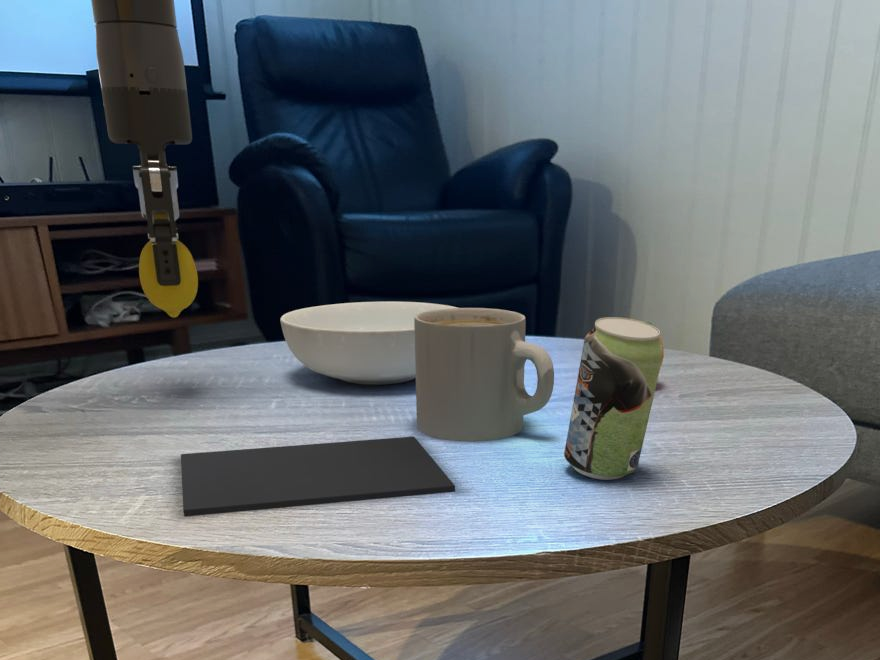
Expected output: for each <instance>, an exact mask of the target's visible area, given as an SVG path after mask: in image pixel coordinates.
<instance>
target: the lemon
mask: <svg viewBox="0 0 880 660" xmlns="http://www.w3.org/2000/svg"><path fill="white" fill-rule="evenodd" d="M152 244H156V243H151V241H150V240H149V241H147V243H146V244H145V245H144V247H143V248H142V250H141V252H140V255H139V262H138V275H139V280H140V285H141V289H142V290H143V293H144V295H145V297H146V298H147V299H148V300H149V302H150V303H151V304H152V305H153V306H155V307H156V308H158V309H160V310H162V311H164V312H165V313H166V314H167V315H168V316H169V317H171V318H178V316H179V315H180V314H181V312H182V311H184V309H187V308H189V306H191V304H193V302H194V300H195V299H196V296H197V293H198V288H199V277H198V271H197V266H196V263H195V260H194V258H193V255H192V253H191V251H190V250H189V248H188V247H187V246H186V245H185V244H184V243H183V242H181V241H180V240H179V239H177V243H172V244H176V245H177V253H178V261H179V269H180V277H181V283H180V284H179V285H177V286H161V285H159V284H158V282H157V276H156V269H155V261H154V254H153V246H152Z"/></svg>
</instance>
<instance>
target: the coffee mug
mask: <svg viewBox="0 0 880 660" xmlns="http://www.w3.org/2000/svg"><path fill="white" fill-rule="evenodd" d="M526 319H527V318H526V316H525V315H524V314H522V313H520V312H517V311H511V310H508V309H507V310H506V309H499V308H487V307H457V308H448V309H438V310H430V311H425V312H421V313H419V314H417V315H416V316H415V317H414V330H415V369H416V378H415V396H416V397H415V405H416V429H417V431H418V432H419V433H421V434H423V435H425V436H428V437H431V438H435V439H438V440H444V441H452V442H487V441H489V442H490V441H495V440H501V439H506V438H510V437H513V436H516V435H518V434H519V433H520V432H521V431H522V430H523V428H524V416H526V415H530V414H532V413H536V412H538V411H540V410H541V409H543V408H544V407H545V406H547V404H548V403H549V401H550V399H551V397H552V395H553V392H554V391H553V390H554V385H555V368H554V363H553V360H552V357H551V356H550V354H549V352H548V351H547V350H546V349H545V348H544V347H542V346H540V345H538V344H535V343H532V342H527V341H526V329H527V328H526V325H527V324H526V323H527V321H526ZM527 361H531V363H532V364H533V365H534V367H535V370H536V378H537V380H536V381H537V383H536V388H535V392H534V394H533V395H530V394H529V393H528V392H527V390H526V387H525V365H526V362H527Z"/></svg>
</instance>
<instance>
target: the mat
mask: <svg viewBox="0 0 880 660" xmlns="http://www.w3.org/2000/svg"><path fill="white" fill-rule="evenodd" d="M180 465H181V466H180V468H181V487H182V488H181V489H182V509H183V510H182V511H183V516H184V517H195V516H205V515H207V516H208V515H215V514H228V513H238V512H247V511H260V510H268V509H281V508H291V507H293V508H294V507H305V506H315V505H325V504H336V503H347V502H358V501H367V500H379V499H391V498H400V497H411V496H421V495H423V496H424V495H434V494H444V493H454V492H456V485H455V484H454V483H453V482H452V480H451V479H450V477H448V476H447V474H446V473H445V471H443V469H442V468H441V467H440V466H439V465H438V463H437V462H436V461H435V460H434V459H433V457H432V456H431V455H430V454H429V452H428V451H427V450H426V449H425V447H424V446H422V444H421V443H420V442H419V440H418V439H417V438H416V437H415V436H402V437H389V438H387V437H386V438H374V439H363V440H362V439H361V440H350V441H336V442H323V443H310V444H297V445H296V444H295V445H283V446H271V447H268V446H267V447H258V448H257V447H256V448H243V449H231V450H230V449H229V450H216V451H205V452H204V451H203V452H189V453H180Z"/></svg>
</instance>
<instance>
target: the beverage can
mask: <svg viewBox="0 0 880 660" xmlns="http://www.w3.org/2000/svg"><path fill="white" fill-rule="evenodd" d="M645 322H646V321H641V320H637V319H632V318H627V317H620V316H619V317H618V316H617V317H616V316H608V317H600V318H597V319H596V320H595V321H594V327H593V328H592V329H591V330H590V331H589V332H588V333H587V334H586V336H585V337H584V341H583V345H582V350H581V357H580V363H579V368H578V372H577V373H578V374H577V378H576V383H575V384H576V385H575V390H574V396H573V402H572V407H571V414H570V418H569V424H568V430H567V434H566V435H567V436H566V441H565V447H564V452H563V455H564V456H563V457H564V458H565V460H566V462H568V463H569V465H571V466H572V468H573V469H574V471H576V472H578V473H579V474H581V475H583V476H585V477H589V478H591V479H595V480H603V481H609V480H617V479H620V478H624V477H625V476H627V475H631V474H632V473H634V472H636V471H637V469H638V467H639V462H640V460H641V459H640V458H641V454H642V449H643V446H644V442H645V441H644V440H645V436H646V432H647V428H648V423H649V418H650V414H651V410H652V406H653V403H654V402H653V401H654V397H655V392H656V388H657V384H658V380H659V375H660V370H661V367H662V365H661V362H662V358H663V359H664V357H663V350H664V345H663V343H662V344H661V341H662V340H661V341H660V339H661V338H660V339H659V337H660V336H661V330H659V328H658V327H656V326H654V325H653V324H652V325H653V326H652V325H650V324H648V323H645ZM662 345H663V346H662ZM662 363H663V362H662Z"/></svg>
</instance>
